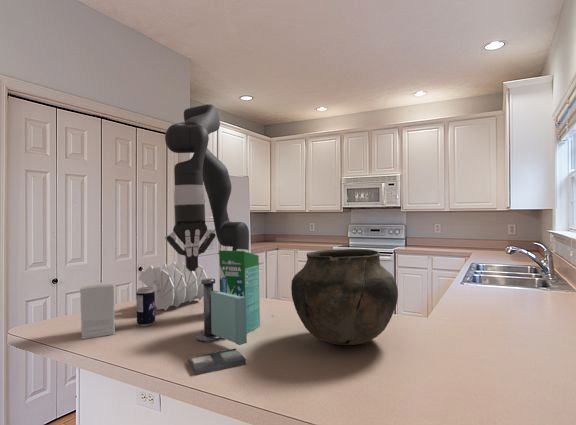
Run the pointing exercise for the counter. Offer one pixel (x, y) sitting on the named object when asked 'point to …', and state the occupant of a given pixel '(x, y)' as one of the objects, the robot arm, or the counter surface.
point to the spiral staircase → (174, 284)
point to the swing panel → (228, 317)
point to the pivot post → (207, 312)
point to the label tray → (216, 361)
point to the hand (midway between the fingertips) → (192, 270)
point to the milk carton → (242, 281)
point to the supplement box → (97, 310)
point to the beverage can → (145, 306)
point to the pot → (344, 295)
